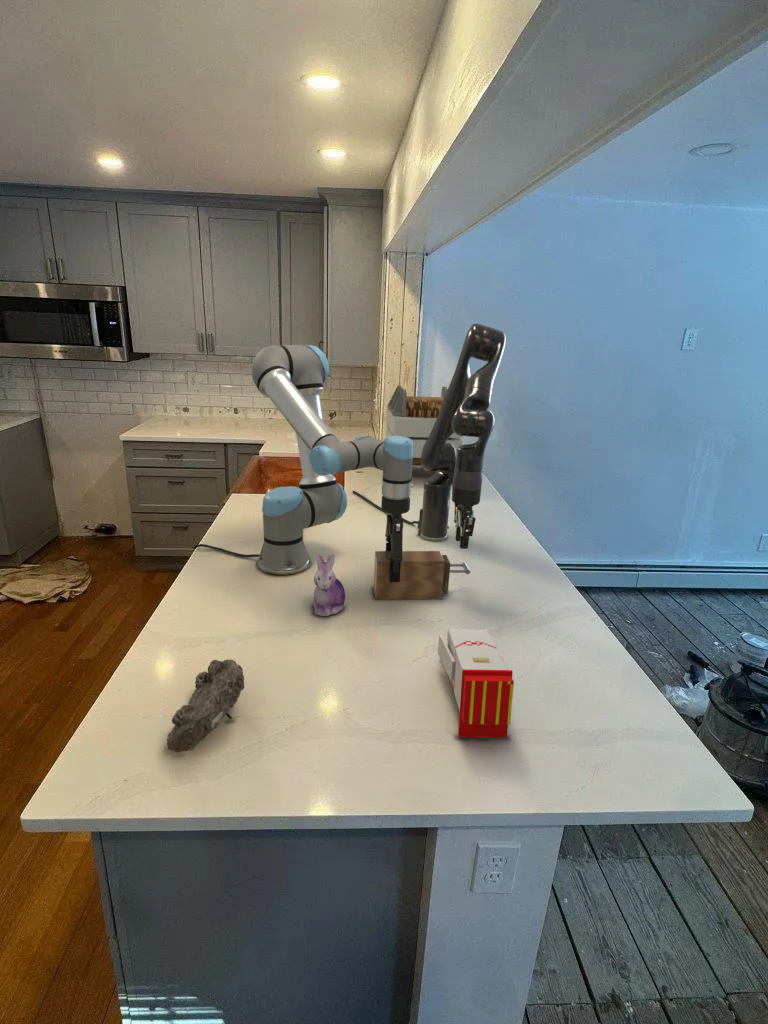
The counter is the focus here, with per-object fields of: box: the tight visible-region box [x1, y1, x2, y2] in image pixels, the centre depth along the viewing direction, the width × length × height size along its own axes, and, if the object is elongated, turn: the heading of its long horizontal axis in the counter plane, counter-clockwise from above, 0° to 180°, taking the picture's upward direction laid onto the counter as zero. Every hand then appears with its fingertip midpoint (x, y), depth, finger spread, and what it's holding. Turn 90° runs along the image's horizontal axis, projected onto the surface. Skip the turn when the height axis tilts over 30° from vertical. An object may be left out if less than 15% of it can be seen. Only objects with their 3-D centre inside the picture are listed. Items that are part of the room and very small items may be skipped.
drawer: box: [441, 554, 471, 596], centre depth 157 cm, size 23×6×10 cm, turn 96°
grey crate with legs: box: [385, 384, 464, 467], centre depth 268 cm, size 34×33×41 cm
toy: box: [437, 628, 515, 738], centre depth 117 cm, size 12×13×30 cm
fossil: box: [166, 658, 245, 754], centre depth 106 cm, size 22×10×15 cm
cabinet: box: [373, 550, 444, 600], centre depth 157 cm, size 18×7×11 cm, turn 96°
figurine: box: [313, 553, 346, 617], centre depth 146 cm, size 9×10×15 cm
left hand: (392, 572), depth 156 cm, fingers open, 10 cm apart
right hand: (461, 544), depth 155 cm, fingers open, 4 cm apart
